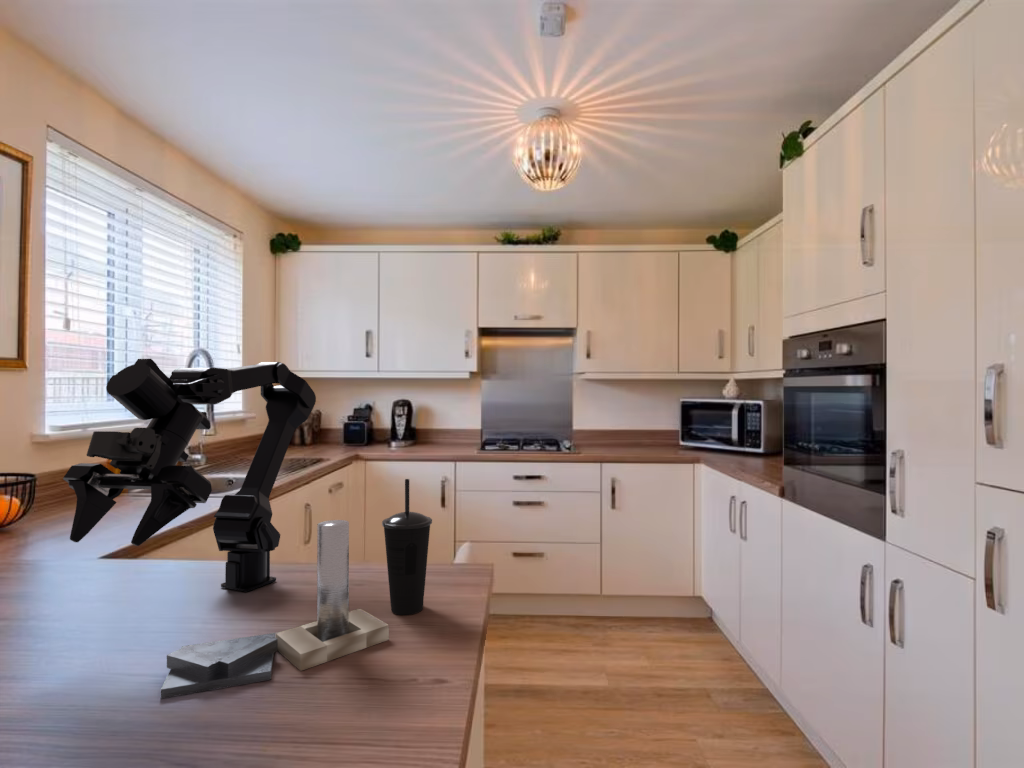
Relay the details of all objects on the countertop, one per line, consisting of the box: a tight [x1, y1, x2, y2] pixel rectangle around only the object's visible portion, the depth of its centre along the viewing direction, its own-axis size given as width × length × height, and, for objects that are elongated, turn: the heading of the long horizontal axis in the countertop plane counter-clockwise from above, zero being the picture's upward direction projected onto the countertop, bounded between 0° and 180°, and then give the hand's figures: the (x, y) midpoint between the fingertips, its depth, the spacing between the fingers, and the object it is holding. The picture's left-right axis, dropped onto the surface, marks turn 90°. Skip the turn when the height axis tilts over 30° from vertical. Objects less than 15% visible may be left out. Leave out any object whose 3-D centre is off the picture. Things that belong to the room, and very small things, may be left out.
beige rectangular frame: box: [275, 608, 390, 672], centre depth 73 cm, size 12×8×2 cm, turn 134°
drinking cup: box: [381, 478, 433, 616], centre depth 85 cm, size 8×8×20 cm
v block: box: [160, 632, 279, 699], centre depth 67 cm, size 11×12×2 cm
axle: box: [316, 519, 350, 642], centre depth 73 cm, size 4×4×16 cm
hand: (103, 542), depth 69 cm, fingers open, 9 cm apart
